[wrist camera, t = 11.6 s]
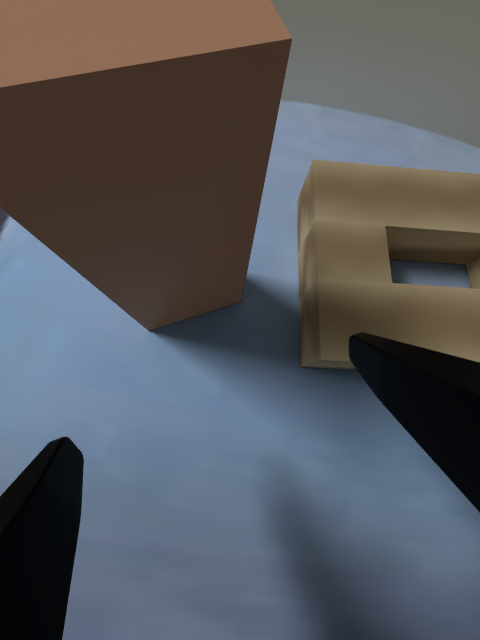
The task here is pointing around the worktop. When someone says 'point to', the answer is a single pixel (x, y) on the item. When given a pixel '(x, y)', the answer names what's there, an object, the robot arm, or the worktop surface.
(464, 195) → the pine slot box
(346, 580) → the worktop surface
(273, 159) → the worktop surface
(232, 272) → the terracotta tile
